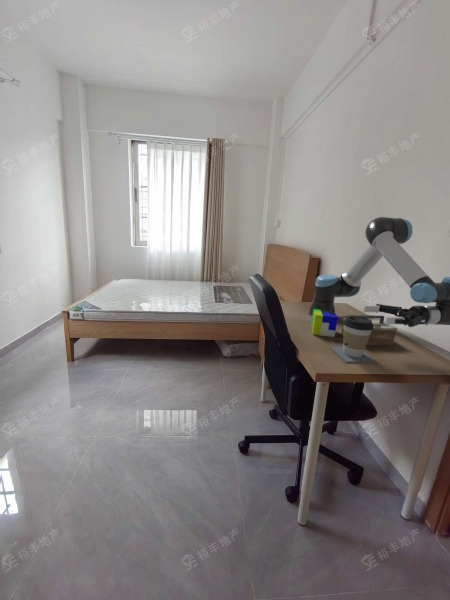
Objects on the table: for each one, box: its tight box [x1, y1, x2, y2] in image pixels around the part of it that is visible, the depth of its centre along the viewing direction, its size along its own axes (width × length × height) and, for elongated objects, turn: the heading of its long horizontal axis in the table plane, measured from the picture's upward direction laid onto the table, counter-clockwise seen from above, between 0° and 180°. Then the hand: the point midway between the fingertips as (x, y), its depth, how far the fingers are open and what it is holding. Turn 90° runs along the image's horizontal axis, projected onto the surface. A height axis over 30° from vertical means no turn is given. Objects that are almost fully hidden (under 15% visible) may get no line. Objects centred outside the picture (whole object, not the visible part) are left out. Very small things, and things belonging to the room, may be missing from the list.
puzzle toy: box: [310, 309, 339, 338], centre depth 135 cm, size 10×10×10 cm
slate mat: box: [329, 346, 378, 364], centre depth 112 cm, size 13×13×1 cm
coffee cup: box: [342, 314, 374, 358], centre depth 110 cm, size 11×11×15 cm
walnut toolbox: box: [340, 314, 398, 346], centre depth 129 cm, size 13×19×12 cm
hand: (374, 314), depth 108 cm, fingers open, 13 cm apart
